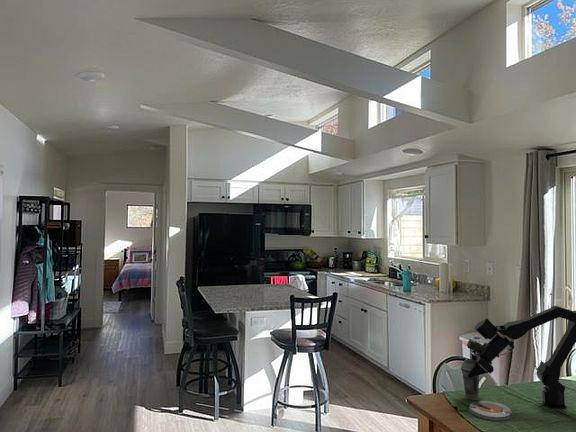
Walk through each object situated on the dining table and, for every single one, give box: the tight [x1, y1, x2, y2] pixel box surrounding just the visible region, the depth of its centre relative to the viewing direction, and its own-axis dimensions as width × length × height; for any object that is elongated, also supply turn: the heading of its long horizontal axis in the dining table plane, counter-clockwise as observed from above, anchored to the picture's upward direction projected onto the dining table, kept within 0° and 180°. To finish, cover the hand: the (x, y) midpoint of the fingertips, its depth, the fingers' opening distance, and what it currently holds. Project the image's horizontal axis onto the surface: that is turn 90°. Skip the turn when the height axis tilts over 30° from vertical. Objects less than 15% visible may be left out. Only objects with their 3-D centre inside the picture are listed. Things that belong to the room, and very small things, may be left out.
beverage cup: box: [460, 349, 480, 401], centre depth 173 cm, size 7×7×20 cm
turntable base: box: [468, 405, 514, 422], centre depth 159 cm, size 15×15×1 cm
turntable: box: [469, 400, 512, 418], centre depth 159 cm, size 14×14×1 cm
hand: (467, 373), depth 174 cm, fingers closed on beverage cup, 7 cm apart
